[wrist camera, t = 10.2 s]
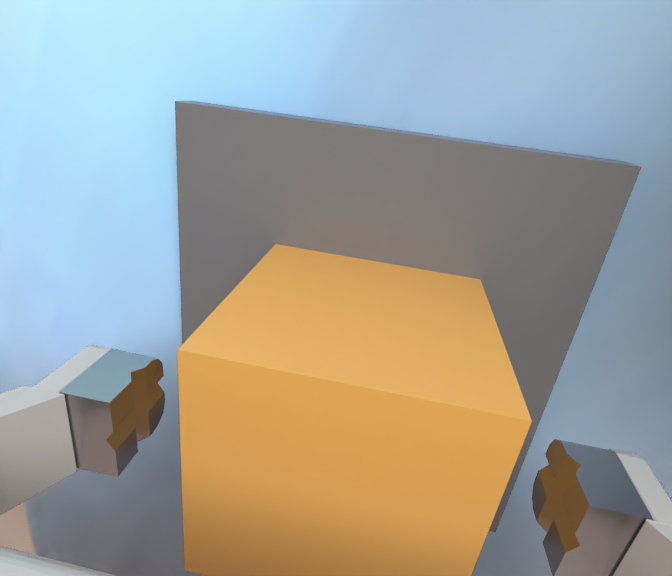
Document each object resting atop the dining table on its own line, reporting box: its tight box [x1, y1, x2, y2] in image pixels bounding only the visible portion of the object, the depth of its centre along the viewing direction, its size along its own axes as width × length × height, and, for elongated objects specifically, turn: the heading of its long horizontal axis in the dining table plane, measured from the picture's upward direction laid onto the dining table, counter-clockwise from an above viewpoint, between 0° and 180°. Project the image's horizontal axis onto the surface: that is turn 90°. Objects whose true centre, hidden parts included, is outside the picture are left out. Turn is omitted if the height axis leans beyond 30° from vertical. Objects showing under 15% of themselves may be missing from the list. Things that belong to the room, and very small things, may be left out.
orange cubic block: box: [177, 244, 532, 576], centre depth 9 cm, size 5×5×5 cm
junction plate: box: [175, 101, 641, 532], centre depth 10 cm, size 11×10×4 cm
